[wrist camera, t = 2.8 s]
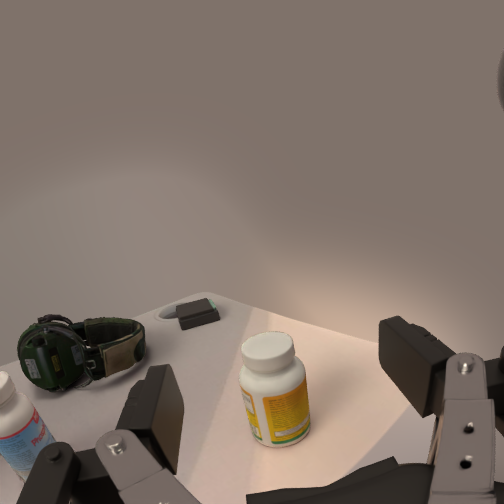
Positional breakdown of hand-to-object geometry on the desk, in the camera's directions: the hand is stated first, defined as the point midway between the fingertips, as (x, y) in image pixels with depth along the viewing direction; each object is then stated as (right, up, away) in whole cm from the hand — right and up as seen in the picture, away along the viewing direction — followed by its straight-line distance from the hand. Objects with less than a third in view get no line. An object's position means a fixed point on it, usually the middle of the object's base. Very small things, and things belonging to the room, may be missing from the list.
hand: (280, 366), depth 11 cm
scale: (-10, -7, +43) cm, 45 cm away
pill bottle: (-21, -18, +9) cm, 29 cm away
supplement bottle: (+2, -12, +15) cm, 19 cm away
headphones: (-25, -14, +29) cm, 41 cm away
